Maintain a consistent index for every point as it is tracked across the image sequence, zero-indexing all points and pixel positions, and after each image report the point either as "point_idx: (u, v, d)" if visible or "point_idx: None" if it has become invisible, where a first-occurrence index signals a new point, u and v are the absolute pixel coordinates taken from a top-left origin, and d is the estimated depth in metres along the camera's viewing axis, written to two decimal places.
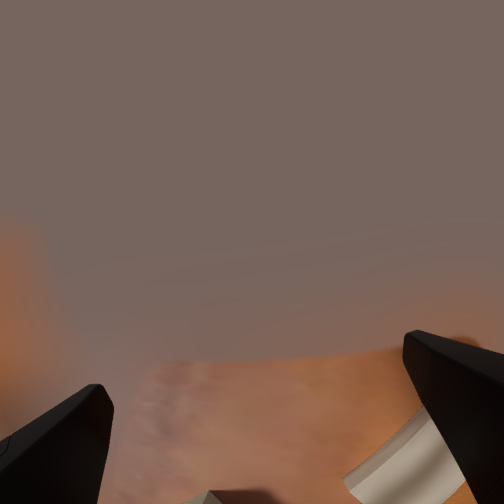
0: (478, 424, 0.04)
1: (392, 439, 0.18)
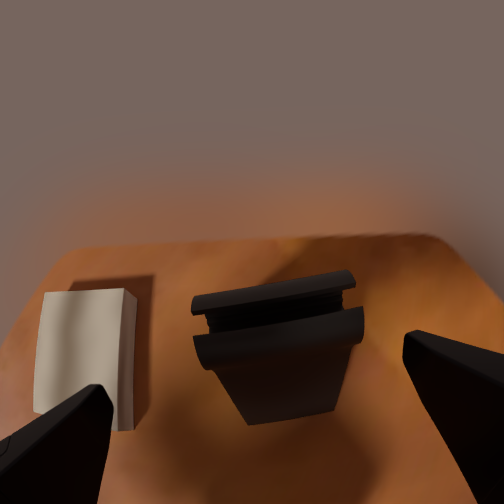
0: (478, 424, 0.04)
1: None
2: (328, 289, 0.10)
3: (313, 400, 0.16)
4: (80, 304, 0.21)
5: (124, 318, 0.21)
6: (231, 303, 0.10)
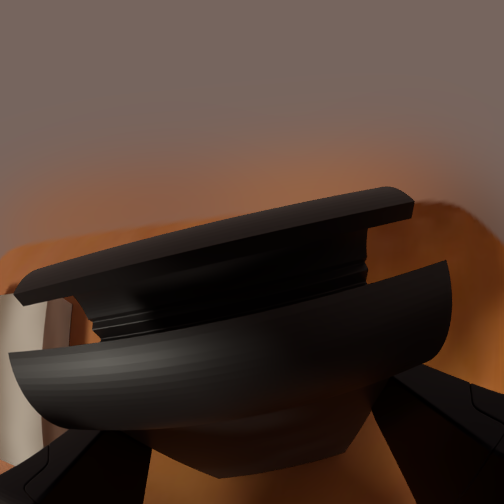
0: (424, 452, 0.04)
1: None
2: (348, 220, 0.04)
3: (314, 449, 0.09)
4: (5, 311, 0.14)
5: (50, 329, 0.14)
6: (84, 272, 0.04)
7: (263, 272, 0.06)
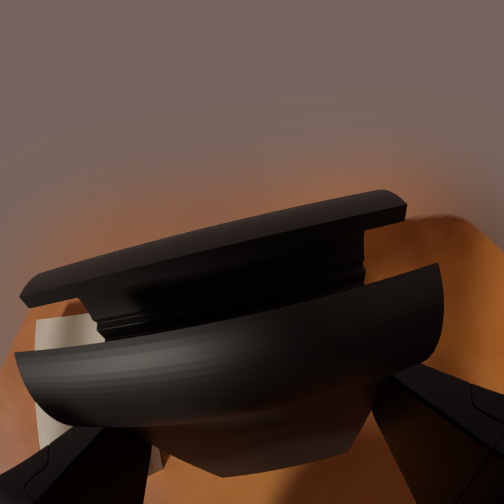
0: (424, 452, 0.04)
1: None
2: (340, 224, 0.04)
3: (316, 449, 0.09)
4: (80, 330, 0.18)
5: None
6: (87, 275, 0.04)
7: (262, 274, 0.06)
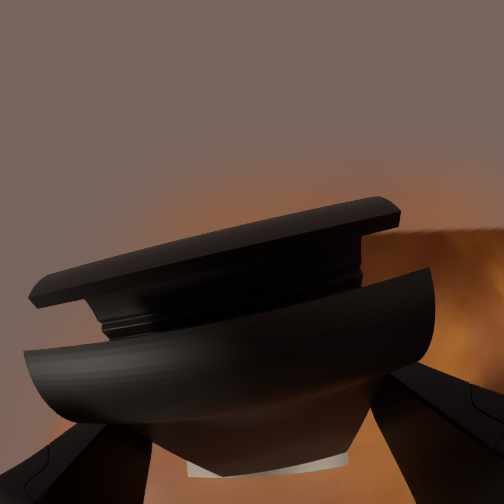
0: (424, 452, 0.04)
1: None
2: (336, 230, 0.04)
3: (315, 448, 0.09)
4: None
5: None
6: (95, 278, 0.04)
7: (262, 277, 0.06)
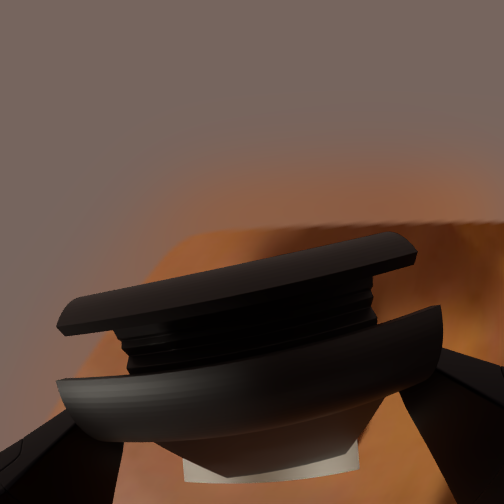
0: (461, 434, 0.04)
1: None
2: (360, 270, 0.04)
3: (318, 451, 0.10)
4: None
5: None
6: (129, 311, 0.04)
7: (281, 300, 0.06)
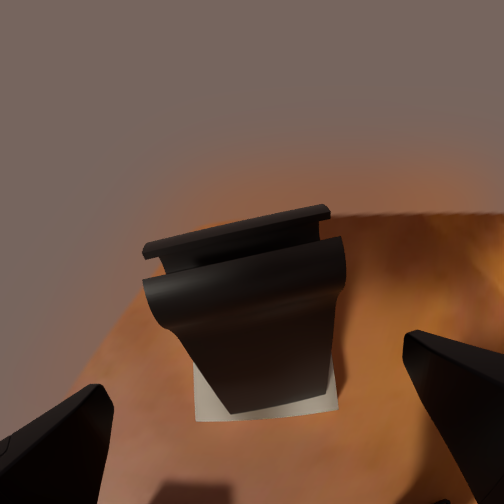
0: (478, 424, 0.04)
1: None
2: (299, 220, 0.09)
3: (300, 379, 0.14)
4: None
5: None
6: (186, 241, 0.09)
7: (264, 246, 0.11)
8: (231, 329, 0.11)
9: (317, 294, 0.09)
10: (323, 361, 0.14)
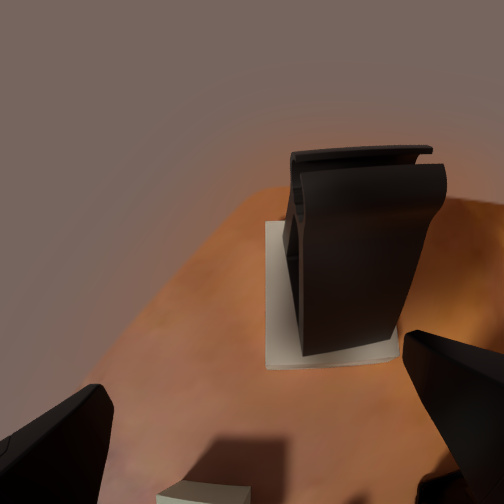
0: (478, 424, 0.04)
1: None
2: (413, 149, 0.10)
3: (379, 313, 0.16)
4: None
5: None
6: (334, 150, 0.10)
7: None
8: (350, 239, 0.12)
9: (424, 208, 0.10)
10: (402, 293, 0.15)
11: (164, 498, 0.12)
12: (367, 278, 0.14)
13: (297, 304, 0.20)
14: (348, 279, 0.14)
